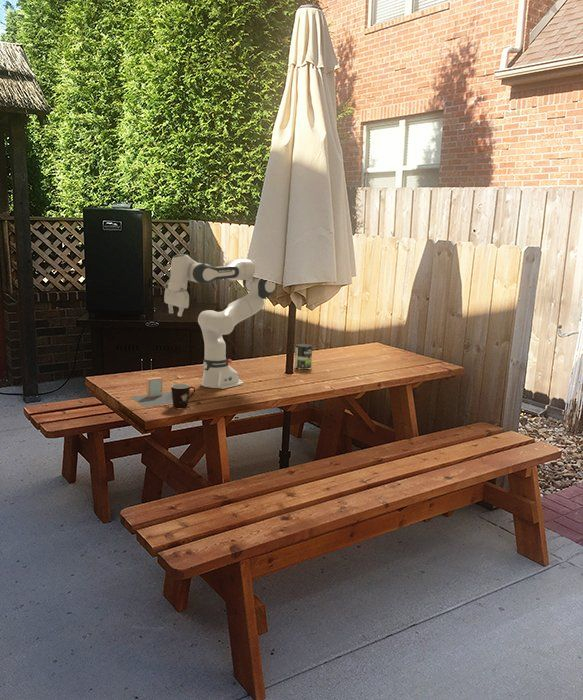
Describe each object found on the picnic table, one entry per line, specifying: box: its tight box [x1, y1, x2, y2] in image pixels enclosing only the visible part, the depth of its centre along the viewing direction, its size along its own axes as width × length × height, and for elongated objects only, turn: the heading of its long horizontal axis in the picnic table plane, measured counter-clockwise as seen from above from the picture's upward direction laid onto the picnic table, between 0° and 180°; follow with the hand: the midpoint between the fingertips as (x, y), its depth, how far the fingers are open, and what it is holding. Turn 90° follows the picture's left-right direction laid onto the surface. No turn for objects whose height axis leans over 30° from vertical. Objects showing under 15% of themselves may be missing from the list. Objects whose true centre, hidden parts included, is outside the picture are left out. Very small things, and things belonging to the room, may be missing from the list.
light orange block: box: [146, 376, 163, 398], centre depth 310 cm, size 7×3×9 cm, turn 126°
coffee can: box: [294, 343, 313, 370], centre depth 382 cm, size 10×10×14 cm
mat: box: [129, 390, 173, 408], centre depth 307 cm, size 22×18×1 cm
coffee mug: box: [170, 383, 196, 409], centre depth 297 cm, size 12×9×10 cm
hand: (175, 314), depth 316 cm, fingers open, 8 cm apart
